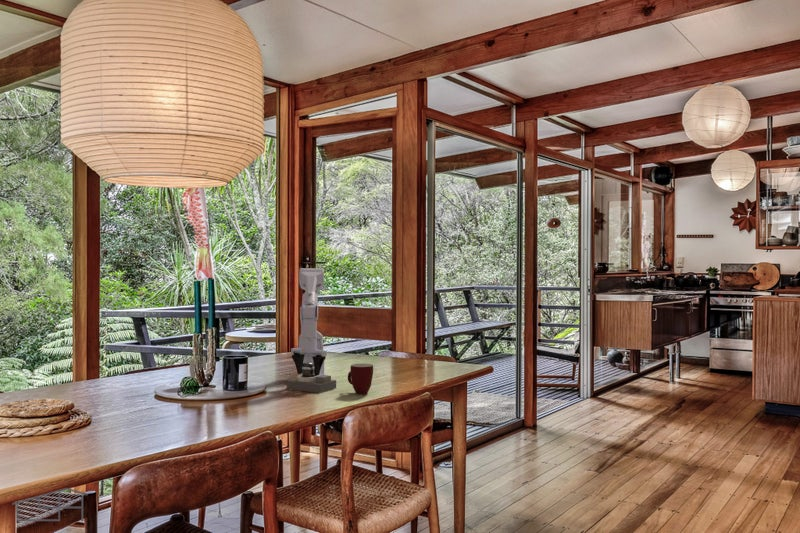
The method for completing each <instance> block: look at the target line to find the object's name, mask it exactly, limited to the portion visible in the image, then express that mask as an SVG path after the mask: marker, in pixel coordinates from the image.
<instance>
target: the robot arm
mask: <svg viewBox="0 0 800 533" xmlns="http://www.w3.org/2000/svg"><path fill="white" fill-rule="evenodd" d="M298 271H299V272H298V282H299V286H300V289H302V290H304V292H303V294H302V300H301V306H300V307H299V319H300V326H301V327H300V334H299V335H298V345H297V346H298V347H293V348H291V349H290V351H291V352H290V354H292V355H291V359H292V360H293V362H294V365H295V369H296V372H297V374H298V375H302V364H303V363H308V362H309V363H314V375H315V376H318V375H319V376H320V375H327V374H325V360H326V358H327V350H324V336H323V334H322V333H321V332H319V331H318V329H317V328H318V319H319V306H318V293H319V291H320V290H322V289H323V288H324V286H325V285H324V282H325V270H324V268H323V267H322V268H312V267H311V268H307V267H305V268H303V267H300V268H299V270H298ZM298 375H297V376H296V378H298Z"/></svg>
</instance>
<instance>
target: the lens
mask: <svg viewBox="0 0 800 533" xmlns="http://www.w3.org/2000/svg"><path fill="white" fill-rule="evenodd" d="M301 375H302V377H314V363H309V362H308V363H303V364H302V373H301Z"/></svg>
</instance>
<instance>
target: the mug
mask: <svg viewBox="0 0 800 533" xmlns="http://www.w3.org/2000/svg"><path fill="white" fill-rule="evenodd" d="M373 376H374V365H373V364H372V363H353V364H351V365H350V371H349V372H348V374H347V381H348V383H349V384H350V385H351V386H352V389H353V390H354V392H355V394H356V395H367V394H368V392H369V391H370V389H371V387H372V383H373V382H372V381H373Z"/></svg>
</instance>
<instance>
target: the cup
mask: <svg viewBox="0 0 800 533" xmlns="http://www.w3.org/2000/svg"><path fill="white" fill-rule="evenodd" d="M193 358H194V357H192V358H189V360H188V362H189V363H188V364H189V374H190V378H191V377H195V371H194V360H193ZM203 358H204V360H203V368H204V370H206V358H207V357H203Z"/></svg>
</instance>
